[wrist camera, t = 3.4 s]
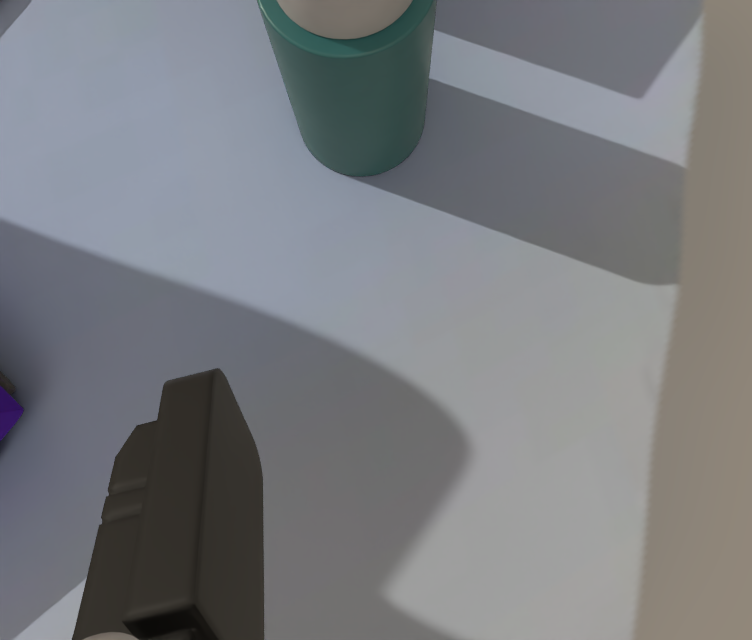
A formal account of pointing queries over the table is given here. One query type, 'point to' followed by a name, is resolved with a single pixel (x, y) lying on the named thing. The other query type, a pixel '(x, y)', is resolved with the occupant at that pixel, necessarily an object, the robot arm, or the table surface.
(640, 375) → the table surface
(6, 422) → the handheld gaming console
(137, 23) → the table surface
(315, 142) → the pepper mill
